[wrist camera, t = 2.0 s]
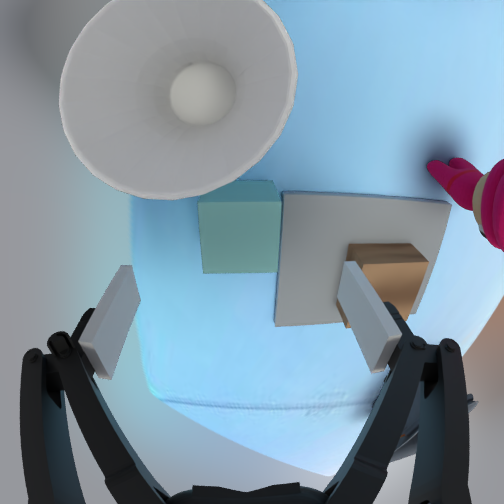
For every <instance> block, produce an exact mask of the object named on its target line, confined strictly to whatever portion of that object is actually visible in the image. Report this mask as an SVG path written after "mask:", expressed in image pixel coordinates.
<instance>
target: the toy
mask: <svg viewBox="0 0 504 504" xmlns="http://www.w3.org/2000/svg"><path fill="white" fill-rule="evenodd" d="M427 169H428V171H429V172H430V174H431V175H432V176H433V177H434V178H435V179H436V180H437V181H438V182H439V184H440V185H441V186H442V187H443V188H444V189H445V190H446V191H447V192H448V194H449V195H450V196H451V197H452V198H453V199H454V201H455V202H456V203H457V204H458V205H459V206H461V207H463V208H464V209H467V210H471V211H473V213H474V217H475V219H476V221H477V223H478V226H479V230H480V232H481V234H482V235H483V236H484V237H485V238H486V239H488V241H489V242H490V243H491V244H492V245H493V246H494V247H496V248H498V249H501V250H502V251H503V252H504V159H503V160H500V161H499V162H498V163H497V164H496V165H495V166H494V167H493V168H492V170H491V171H490V172H487V173H486V174H485V175H483V174H482V173H481V172H480V171H479V170H477V169H476V168H475V167H474V166H473V165H472V164H471V163H469V162H468V161H466V160H465V159H463V158H453V159H451V160H450V162H449V166H448V165H446V164H444V163H443V162H441V161H438V160H434V161H431V162H429V163H428V165H427Z"/></svg>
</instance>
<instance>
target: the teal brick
mask: <svg viewBox="0 0 504 504" xmlns="http://www.w3.org/2000/svg"><path fill="white" fill-rule="evenodd" d="M197 204H198V219H199V232H200V244H201V255H202V266H203V273H272V272H278V257H279V242H280V225H281V207H282V201H281V199H280V197H279V194H278V192H277V190H276V188H275V185H274V183H273V181H268V180H243V181H233V182H231V183H228V184H226V185H224V186H222V187H219V188H217V189H215V190H213V191H211V192H208V193H206V194H204V195H200V197H199V200H198V202H197Z"/></svg>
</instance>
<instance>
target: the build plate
mask: <svg viewBox="0 0 504 504" xmlns="http://www.w3.org/2000/svg"><path fill="white" fill-rule="evenodd" d="M451 206H452V205H451V204H450V203H448V202H445V201H436V200H427V199H417V198H407V197H395V196H382V195H368V194H351V193H330V192H299V191H283V198H282V216H281V233H280V249H279V264H278V278H277V292H276V305H275V317H274V323H275V327H280V326H299V325H315V324H328V323H340V322H343V320H342V318H341V315H340V313H339V311H338V308H337V306H336V302H337V294H338V290H339V285H340V280H341V275H342V270H343V265H344V261H346V256H347V251H348V246H349V244H367V243H411V244H412V245H413V246H414V247H415V248H416V249H417V250H418V251H419V252H420V253H421V254H422V255H423V256H424V257H425V258H426V259H427V260H428V261H429V264H428V267H427V270H426V273H425V276H424V279H423V281H422V284H421V287H420V289H419V292H418V294H417V297H416V299H415V302H414V304H413V307H412V309H411V312H410V314H415V313H416V311H417V309H418V306H419V304H420V302H421V299H422V297H423V294H424V292H425V289H426V287H427V284H428V281H429V279H430V276H431V273H432V270H433V268H434V265H435V262H436V259H437V256H438V253H439V250H440V246H441V243H442V240H443V236H444V233H445V230H446V226H447V222H448V218H449V214H450V210H451Z"/></svg>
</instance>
